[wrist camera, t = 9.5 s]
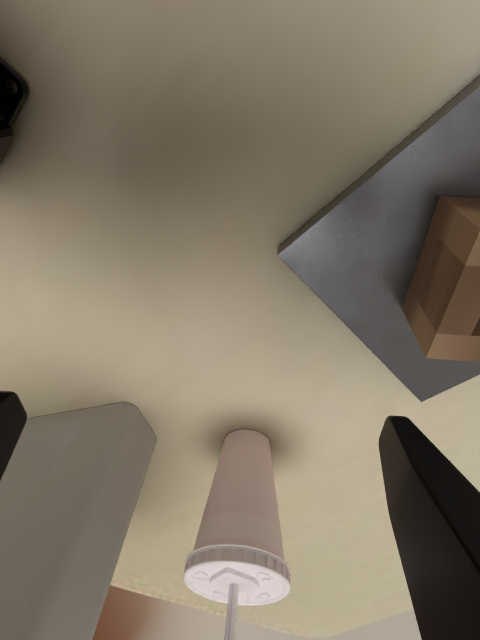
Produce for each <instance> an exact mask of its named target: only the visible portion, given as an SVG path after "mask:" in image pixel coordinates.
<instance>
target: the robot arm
mask: <svg viewBox="0 0 480 640" xmlns="http://www.w3.org/2000/svg"><path fill="white" fill-rule="evenodd" d="M12 81H13V82H14V83H15V84H16V86H17V93H15V92H14V91H13V89H12V87H11V82H12ZM28 93H29V91H28V86H27V84H26V81H25V80H24V79H23V78H22V77H21V76H20V75H19V74H18V73H17V72H16V71H15V70H14V69H13V68H12V67H11V66H10V65H9V64H7V63H6V62H5V61H4V60H3V59H2V58H1V57H0V161H1V159H2V157H3V156H4V154H5V152H6V150H7V148H8V146H9V144H10V142H11V141H12V139H13V137H14V133H13V128H12V125H13V124H14V122H15V120H16V118H17V116H18V114H19V112H20V110H21V108H22V106H23V104H24V102H25V101H26V99H27V97H28ZM26 420H27V413H26V411H25V409H24V407H23V405H22V403H21V401H20V399H19V397H18V395H17V394H16V393H15V392H12V391H0V481H1V479H2V476H3V474H4V472H5V470H6V468H7V465H8V463H9V461H10V458H11V456H12V454H13V452H14V449H15V447H16V445H17V442H18V440H19V438H20V435H21V433H22V431H23V429H24V426H25V424H26ZM379 451H380V458H381V465H382V472H383V478H384V485H385V492H386V498H387V505H388V510H389V515H390V520H391V524H392V528H393V532H394V535H395V539H396V543H397V547H398V551H399V554H400V558H401V562H402V566H403V570H404V574H405V577H406V581H407V585H408V589H409V593H410V596H411V600H412V604H413V608H414V612H415V615H416V619H417V623H418V626H419V631H420V634H421V638H422V640H480V492H479V491H478V490H477V489H476V488H475V487H474V486H473V485H472V484H471V483H470V482H469V481H468V480H467V479H466V478H465V477H464V475H463V474H462V473H461V472H460V471H459V470H458V469H457V468H456V467H455V466H454V465H453V464H452V463H451V462H450V461H449V460H448V459H447V458H446V457H445V456H444V455H443V454H442V453H441V452H440V451H439V450H438V449H437V447H436V446H435V445H434V444H433V443H432V442H431V441H430V440H429V439H428V438H427V437H426V436H425V435H424V434H423V433H422V432H421V431H420V430H419V429H418V428H417V427H416V426H415V425H414V424H413V423H412V422H411V420H409V419H408V418H407V417H404V416H388V417H387V418H386V420H385V423H384V426H383V429H382V431H381V434H380V437H379Z"/></svg>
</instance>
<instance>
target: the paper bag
mask: <svg viewBox="0 0 480 640" xmlns="http://www.w3.org/2000/svg"><path fill="white" fill-rule="evenodd" d="M155 444H156V435H155V433H154V432H153V430H152V429H151V427H150V426H149V424H148V423H147V421H146V420H145V418H144V417H143V415H142V414H141V413H140V411H139V410H138V408H137V407H136V406H135V405H133V404H131V403H128V402H120V403H114V404H108V405H103V406H97V407H91V408H86V409H80V410H74V411H68V412H63V413H57V414H51V415H46V416H40V417H34V418H28V419H27V420H26V424H25V426H24V429H23V431H22V433H21V435H20V438H19V440H18V442H17V445H16V447H15V449H14V452H13V454H12V456H11V458H10V461H9V463H8V465H7V468H6V470H5V472H4V474H3V476H2V479H1V481H0V640H92V638H93V635H94V632H95V629H96V626H97V623H98V620H99V617H100V613H101V610H102V607H103V604H104V601H105V598H106V595H107V592H108V589H109V586H110V583H111V580H112V577H113V573H114V570H115V567H116V564H117V561H118V558H119V555H120V552H121V549H122V546H123V543H124V539H125V536H126V533H127V530H128V527H129V524H130V521H131V518H132V515H133V512H134V509H135V505H136V502H137V499H138V496H139V493H140V490H141V487H142V484H143V481H144V478H145V475H146V471H147V468H148V465H149V462H150V459H151V456H152V453H153V450H154V447H155Z"/></svg>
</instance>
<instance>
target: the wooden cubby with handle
mask: <svg viewBox="0 0 480 640" xmlns="http://www.w3.org/2000/svg"><path fill="white" fill-rule="evenodd" d="M402 311H403V313H404V315H405V317H406V319H407V321H408V323H409V325H410V327H411V329H412V331H413V333H414V335H415V337H416V339H417V341H418V343H419V345H420V347H421V349H422V351H423V353H424V355H425V357H426V358H430V359H444V360H458V361H472V362H480V197H456V196H439V198H438V201H437V204H436V207H435V210H434V213H433V216H432V219H431V222H430V225H429V228H428V231H427V234H426V237H425V240H424V243H423V246H422V249H421V252H420V255H419V258H418V261H417V264H416V267H415V270H414V273H413V276H412V279H411V282H410V285H409V288H408V291H407V294H406V297H405V300H404V303H403V306H402Z"/></svg>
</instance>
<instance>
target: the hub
mask: <svg viewBox="0 0 480 640" xmlns="http://www.w3.org/2000/svg"><path fill="white" fill-rule="evenodd" d="M439 196H456V197H480V76H479V77H477V78H476V79H475V80H474V81H473V82H472V83H470V84H469V85H468V86H467V87H466V88H465V89H463V90H462V91H461V92H460V93H459V94H457V95H456V96H455V97H454V98H453V99H452V100H450V101H449V102H448V103H447V104H446V105H445V106H443V107H442V108H441V109H440V110H439V111H437V112H436V113H435V114H434V115H433V116H432V117H430V118H429V119H428V120H427V121H426V122H425V123H423V124H422V125H421V126H420V127H419V128H417V129H416V130H415V131H414V132H413V133H412V134H410V135H409V136H408V137H407V138H406V139H405V140H403V141H402V142H401V143H400V144H399V145H397V146H396V147H395V148H394V149H393V150H392V151H390V152H389V153H388V154H387V155H386V156H385V157H383V158H382V159H381V160H380V161H379V162H377V163H376V164H375V165H374V166H373V167H372V168H370V169H369V170H368V171H367V172H366V173H365V174H363V175H362V176H361V177H360V178H359V179H358V180H356V181H355V182H354V183H353V184H352V185H350V186H349V187H348V188H347V189H346V190H345V191H343V192H342V193H341V194H340V195H339V196H338V197H336V198H335V199H334V200H333V201H332V202H330V203H329V204H328V205H327V206H326V207H325V208H323V209H322V210H321V211H320V212H319V213H318V214H316V215H315V216H314V217H313V218H312V219H310V220H309V221H308V222H307V223H306V224H305V225H303V226H302V227H301V228H300V229H299V230H298V231H296V232H295V233H294V234H293V235H292V236H290V237H289V238H288V239H287V240H286V241H285V242H283V243H282V244H281V245H280V246H279V247H278V256H279V257H280V258H281V259H282V260H283V261H284V262H285V263H286V264H287V265H288V266H289V267H290V269H291V270H292V271H293V272H294V273H295V274H296V275H297V276H298V277H299V278H300V279H301V280H302V281H303V282H304V283H305V284H306V285H307V286H308V287H309V288H310V289H311V290H312V291H313V292H314V293H315V294H316V295H317V296H318V297H319V298H320V299H321V300H322V301H323V302H324V303H325V304H326V305H327V306H328V307H329V308H330V309H331V310H332V311H333V312H334V313H335V314H336V315H337V316H338V318H339V319H340V320H341V321H342V322H343V323H344V324H345V325H346V326H347V327H348V328H349V329H350V330H351V331H352V332H353V333H354V334H355V335H356V336H357V337H358V338H359V339H360V340H361V341H362V342H363V343H364V344H365V345H366V346H367V347H368V348H369V349H370V350H371V351H372V352H373V353H374V354H375V355H376V356H377V357H378V358H379V359H380V360H381V361H382V362H383V363H384V364H385V366H386V367H387V368H388V369H389V370H390V371H391V372H392V373H393V374H394V375H395V376H396V377H397V378H398V379H399V380H400V381H401V382H402V383H403V384H404V385H405V386H406V387H407V388H408V389H409V390H410V391H411V392H412V393H413V394H414V395H415V396H416V397H417V398H418V399H419V400H420V401H421V402H422V401H424V400H427V399H429V398H431V397H433V396H435V395H437V394H439V393H441V392H443V391H446V390H448V389H450V388H452V387H454V386H456V385H458V384H460V383H462V382H465V381H467V380H469V379H471V378H473V377H475V376H477V375H479V374H480V362H472V361H458V360H444V359H430V358H426V357H425V355H424V353H423V351H422V349H421V347H420V345H419V343H418V341H417V339H416V337H415V335H414V333H413V331H412V329H411V327H410V325H409V323H408V321H407V319H406V317H405V315H404V313H403V311H402V306H403V303H404V300H405V297H406V294H407V291H408V288H409V285H410V282H411V279H412V276H413V273H414V270H415V267H416V264H417V261H418V258H419V255H420V252H421V249H422V246H423V243H424V240H425V237H426V234H427V231H428V228H429V225H430V222H431V219H432V216H433V213H434V210H435V207H436V204H437V201H438V198H439Z"/></svg>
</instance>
